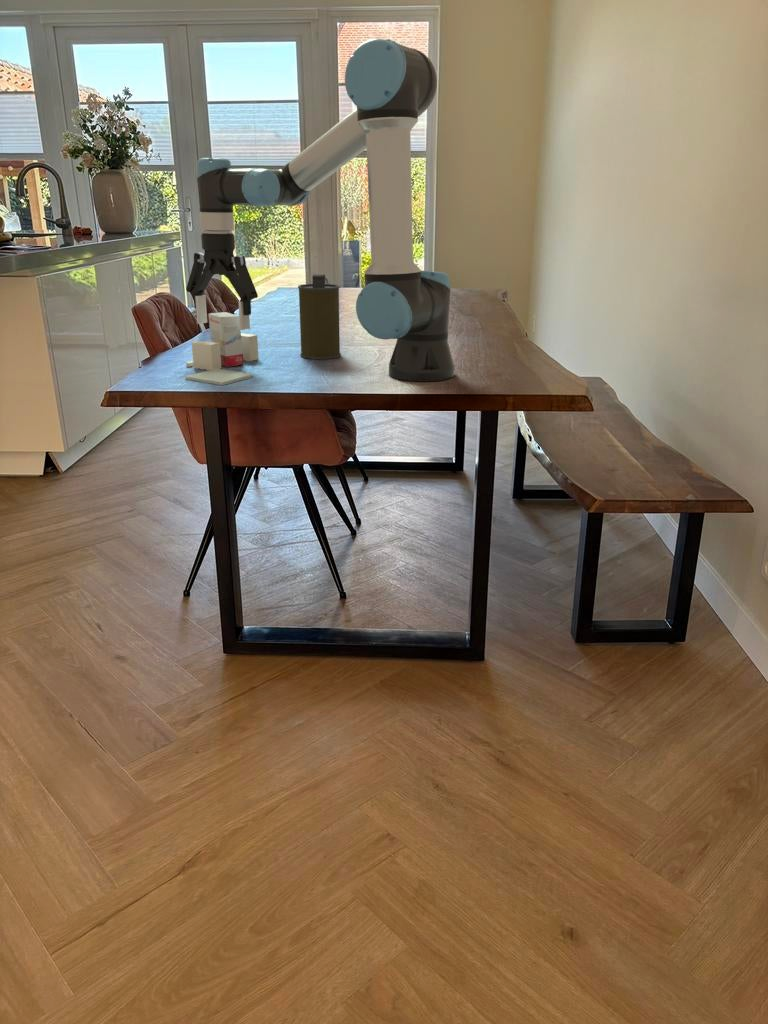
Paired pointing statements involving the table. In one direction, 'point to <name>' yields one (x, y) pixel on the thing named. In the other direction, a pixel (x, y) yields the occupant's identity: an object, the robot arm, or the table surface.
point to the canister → (319, 319)
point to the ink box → (227, 337)
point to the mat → (219, 376)
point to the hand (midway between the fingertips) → (223, 326)
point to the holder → (209, 352)
